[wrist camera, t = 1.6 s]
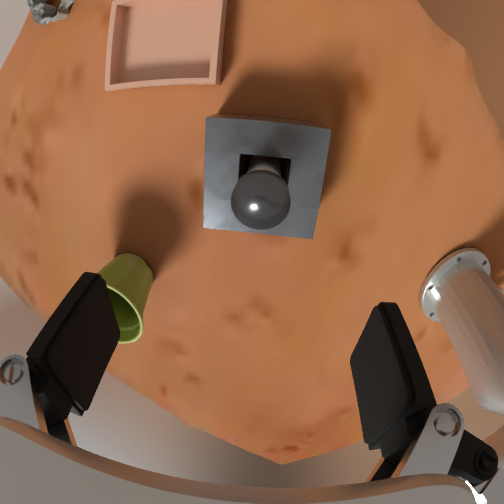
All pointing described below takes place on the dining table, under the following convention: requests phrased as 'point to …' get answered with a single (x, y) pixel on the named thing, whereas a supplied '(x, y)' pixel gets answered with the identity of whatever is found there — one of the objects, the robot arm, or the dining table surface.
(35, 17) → the egg carton
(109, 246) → the dining table surface
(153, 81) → the tray
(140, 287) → the plant pot
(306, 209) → the socket block
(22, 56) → the dining table surface
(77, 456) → the robot arm
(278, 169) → the pin
